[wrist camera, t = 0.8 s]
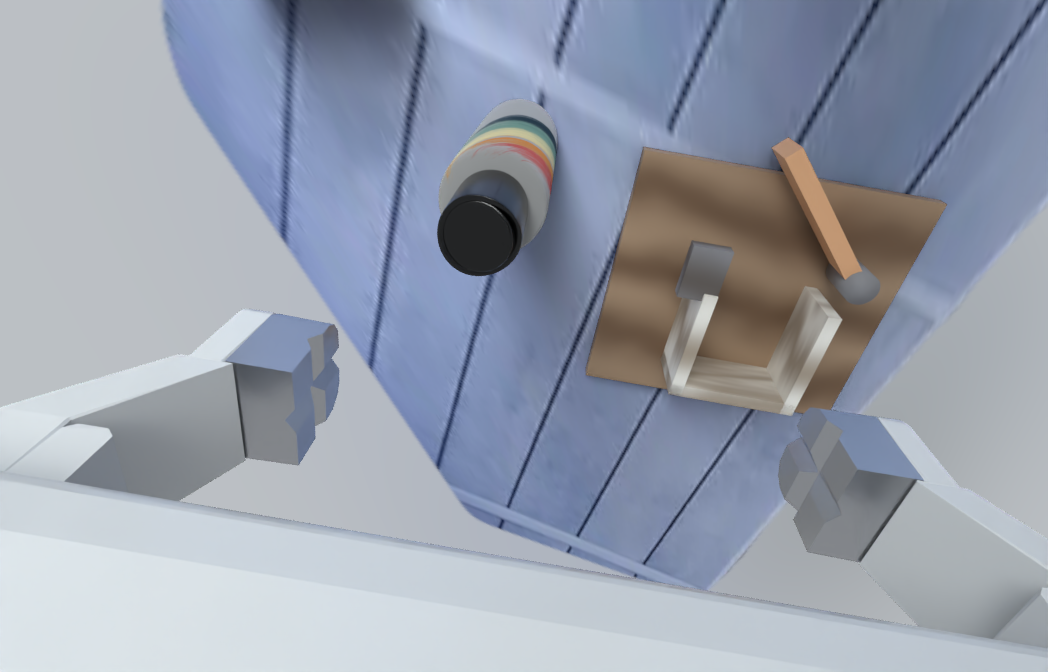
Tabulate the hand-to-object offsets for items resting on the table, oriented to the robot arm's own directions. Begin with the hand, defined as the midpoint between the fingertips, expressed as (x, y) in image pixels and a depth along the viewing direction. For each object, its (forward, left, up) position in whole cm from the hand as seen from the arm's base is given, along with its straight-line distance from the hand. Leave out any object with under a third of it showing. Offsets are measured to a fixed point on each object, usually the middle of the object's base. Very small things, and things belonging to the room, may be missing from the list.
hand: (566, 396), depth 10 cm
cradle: (+13, +17, -35) cm, 41 cm away
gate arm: (+5, +19, -34) cm, 39 cm away
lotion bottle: (+4, -3, -35) cm, 35 cm away
